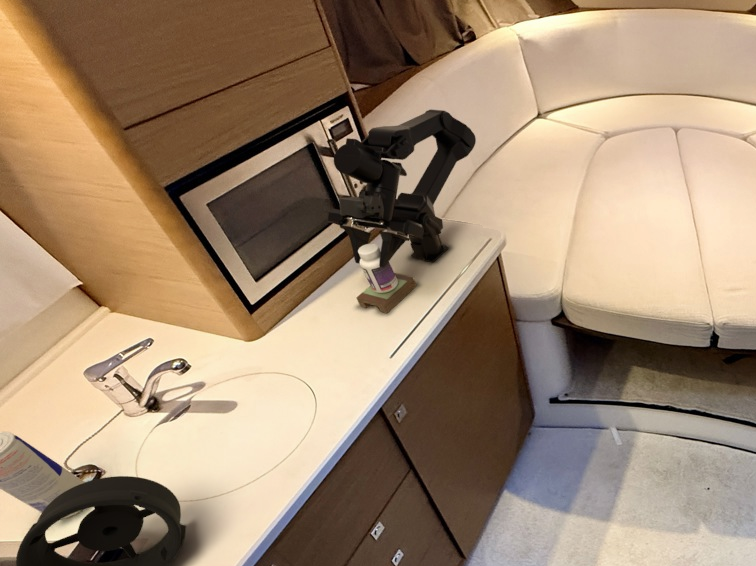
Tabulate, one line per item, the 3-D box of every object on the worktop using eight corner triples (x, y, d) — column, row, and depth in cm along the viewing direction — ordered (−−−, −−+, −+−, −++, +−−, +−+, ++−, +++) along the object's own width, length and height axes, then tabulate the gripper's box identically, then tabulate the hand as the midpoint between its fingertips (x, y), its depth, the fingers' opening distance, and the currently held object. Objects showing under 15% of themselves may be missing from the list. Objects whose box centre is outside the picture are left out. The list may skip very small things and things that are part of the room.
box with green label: (391, 279, 117) (387, 270, 116) (416, 285, 116) (412, 276, 114) (360, 306, 111) (355, 297, 109) (387, 313, 109) (382, 304, 107)
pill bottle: (402, 278, 113) (385, 241, 106) (393, 293, 110) (376, 256, 103) (377, 278, 113) (360, 241, 107) (368, 294, 110) (349, 256, 103)
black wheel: (78, 447, 67) (59, 488, 60) (208, 475, 77) (205, 513, 69) (13, 542, 66) (-15, 595, 59) (153, 559, 76) (144, 606, 69)
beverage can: (106, 488, 80) (24, 431, 69) (74, 522, 76) (-18, 467, 65) (73, 485, 80) (-13, 428, 70) (40, 519, 76) (-57, 464, 66)
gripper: (311, 172, 99) (298, 251, 100) (395, 182, 96) (382, 265, 96) (353, 189, 110) (342, 261, 111) (430, 200, 107) (418, 273, 107)
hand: (369, 265), depth 106 cm, fingers closed on pill bottle, 5 cm apart
